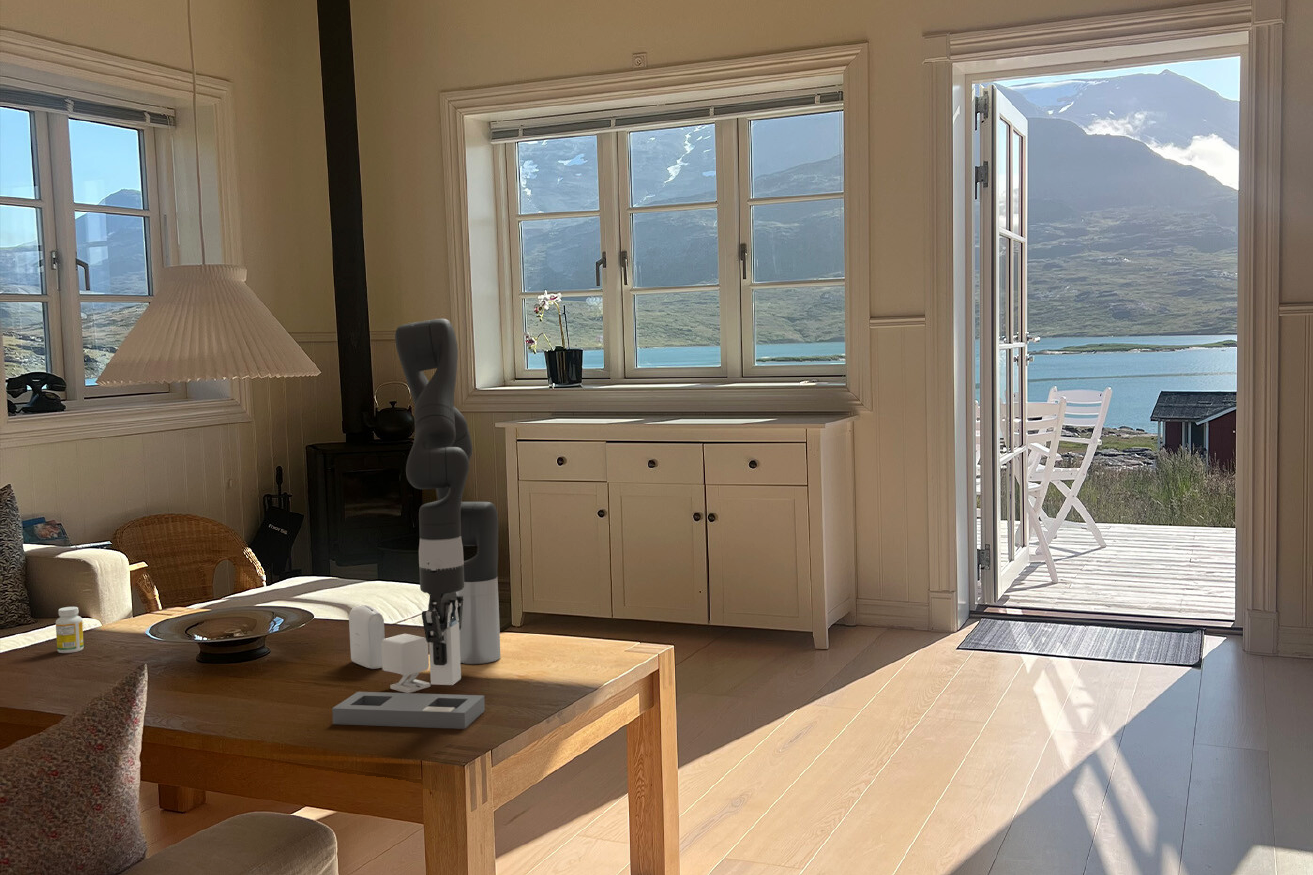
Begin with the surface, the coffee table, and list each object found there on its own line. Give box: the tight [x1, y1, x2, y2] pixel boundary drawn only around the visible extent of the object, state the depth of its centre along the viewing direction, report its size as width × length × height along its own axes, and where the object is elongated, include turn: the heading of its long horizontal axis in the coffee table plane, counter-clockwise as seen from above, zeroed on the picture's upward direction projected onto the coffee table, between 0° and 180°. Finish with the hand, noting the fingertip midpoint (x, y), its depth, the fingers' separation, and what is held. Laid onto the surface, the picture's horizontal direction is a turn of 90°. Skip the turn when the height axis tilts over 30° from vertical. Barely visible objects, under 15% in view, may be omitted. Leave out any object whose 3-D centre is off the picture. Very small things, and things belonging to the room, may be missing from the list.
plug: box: [428, 620, 462, 686], centre depth 198 cm, size 4×4×11 cm
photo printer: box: [348, 604, 385, 670], centre depth 239 cm, size 10×4×12 cm, turn 39°
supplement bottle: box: [55, 606, 84, 654], centre depth 258 cm, size 5×5×10 cm
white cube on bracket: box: [381, 633, 431, 693], centre depth 219 cm, size 6×7×10 cm
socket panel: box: [331, 691, 486, 730], centre depth 200 cm, size 10×24×4 cm, turn 79°
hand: (445, 660), depth 199 cm, fingers closed on plug, 4 cm apart
